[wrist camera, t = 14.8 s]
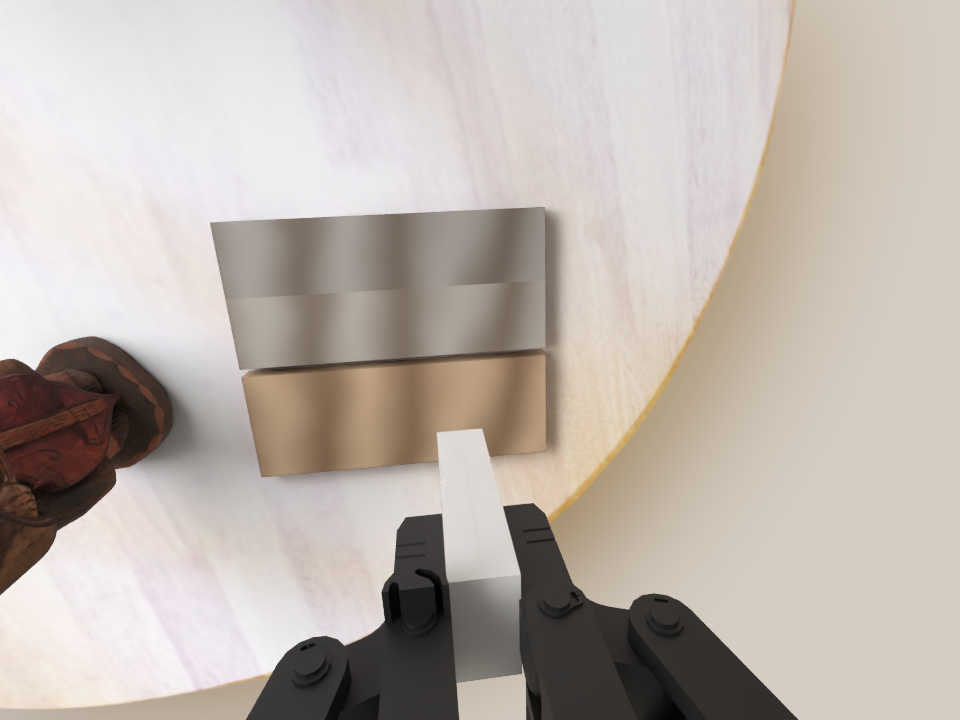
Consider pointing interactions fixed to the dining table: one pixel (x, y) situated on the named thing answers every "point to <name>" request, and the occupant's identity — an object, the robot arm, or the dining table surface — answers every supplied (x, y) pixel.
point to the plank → (394, 410)
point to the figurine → (68, 440)
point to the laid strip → (383, 285)
